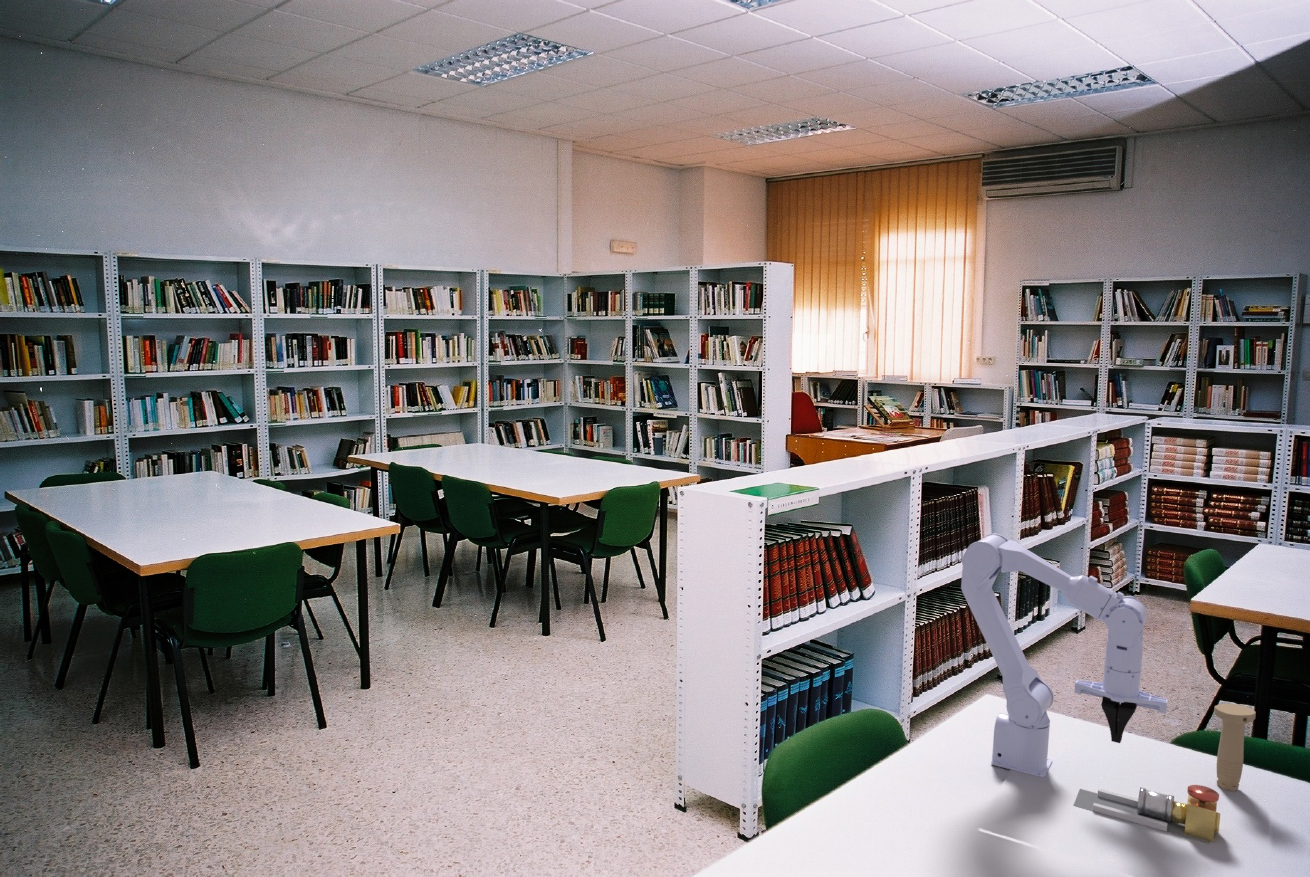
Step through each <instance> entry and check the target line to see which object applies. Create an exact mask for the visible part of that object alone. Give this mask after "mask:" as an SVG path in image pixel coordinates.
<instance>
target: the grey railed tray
mask: <svg viewBox="0 0 1310 877" xmlns="http://www.w3.org/2000/svg"><path fill="white" fill-rule="evenodd" d="M1073 806H1074V807H1077V808H1081V809H1083V810H1087V811H1091V812H1095V813H1097V814H1101V815H1105V816H1109V817H1111V818H1116V819H1119V820H1123V821H1127V822H1131V823H1134V824H1137V825H1141V826H1144V827H1148V828H1151V829H1155V830H1157V831H1162V832H1165V833H1170V834H1173V835H1177V836H1180V837H1183V838H1187V839H1191V840H1194V841H1198V842H1202V843H1205V844H1209V845H1210V842H1211V841H1208V840H1204V839H1200V838H1197V837H1193V836H1190V835H1186V834H1184V833H1185V824H1181V823H1177V822H1174V821H1172V823H1171V822H1167V821H1166V820H1163V819H1160V818H1156V817H1153V816H1149V815H1145V814H1143V815H1142V814H1138V813H1137V809H1138V798H1135V797H1132V796H1128V795H1124V794H1121V793H1118V792H1114V791H1109V790H1107V789H1102V788H1098V790H1097V792H1095V791H1091V790H1087V789H1082V788H1079V790H1078V793H1077V795H1076V798H1075V801H1074V803H1073Z"/></svg>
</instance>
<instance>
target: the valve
mask: <svg viewBox="0 0 1310 877" xmlns="http://www.w3.org/2000/svg"><path fill="white" fill-rule="evenodd" d="M1186 789H1187V794H1188V796H1187V803H1182V802H1179V801H1175V800H1174V802H1173V809H1172V821H1174V822H1177V823H1181V824H1185V833H1184V834H1186V835H1190V836H1193V837H1197V838H1200V839H1204V840H1208V841H1210V842H1212V843H1214V836H1215V834H1219V832H1220V824H1221V823H1220V822H1221V812H1217V804H1218V802H1219V799H1220V794H1219V793H1218V791H1216V790H1215V789H1213V788H1210V787H1208V786H1206V785H1200V784H1191V785H1188V786H1187V788H1186Z"/></svg>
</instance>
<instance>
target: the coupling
mask: <svg viewBox="0 0 1310 877" xmlns="http://www.w3.org/2000/svg"><path fill="white" fill-rule="evenodd" d="M1137 799H1138V809H1137V813H1138V814H1142V815H1143V814H1145V815H1149V816H1153V817H1156V818H1160V819H1163V820H1166V821H1167V822H1171V823H1172V809H1173V802H1174V801H1175V795H1173V794H1165V793H1160V792H1157V791H1152V790H1149V789H1147V788H1145V787H1139V793H1138V798H1137Z"/></svg>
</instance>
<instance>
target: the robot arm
mask: <svg viewBox="0 0 1310 877" xmlns="http://www.w3.org/2000/svg"><path fill="white" fill-rule="evenodd" d="M960 562H961V564H962V571H961V582H960V583H961V585H960V589H961V592H962V594H963V596H964V598H965V600H966V602H967V604H968V607H969V608H970V611H971V613H972V616H973V617H974V620H975V621H976V623H977V626H978V628H979V629H980V632H981V634H982V637H983V638H984V640H985V643H986V645H987V647H988V650H990V653H991V654H992V658H993V659H994V661H995V664H996V666H997V667H998V669H999V671H1000V673H1001V676H1002V691H1003V695H1004V696H1005V700H1006V706H1005V707H1006V712H1007V713H1002V712H999V713H998V714H997V716H996V719H995V723H994V729H993V739H992V740H993V741H992V742H993V743H992V756H991V757H992V758H991V763H990V764H991V765H992V766H996V767H999V768H1004V769H1007V770H1013V771H1017V772H1021V773H1025V774H1028V775H1032V776H1035V777H1039V778H1043V779H1044V778H1045V777H1046V776H1047V774H1048V772H1049V769H1050V767H1051V765H1052V763H1053V760H1052V759H1050V758H1048V752H1049V739H1050V726H1051V720H1050V718H1049V716H1048V712H1047V710H1048V709H1050V708H1051V707H1052V705H1053V703H1054V698H1055V697H1054V693H1053V690H1052V689H1051V687H1050V686H1049V684H1047V683H1046V682H1045V681H1044V680H1043V679H1042V678H1041V677H1040V675H1039V673H1038V671H1037V670H1036V669H1035V668H1034V667H1032V666H1031V665H1030V664H1029V662H1028V660H1027V659H1026V656H1025V654H1024V652H1023V650H1022V647H1021V646H1020V644H1019V642H1018V639H1017V637H1016V635H1015V633H1014V631H1013V629H1012V627H1011V625H1010V623H1009V621H1008V619H1007V617H1006V614H1005V612H1004V610H1003V609H1002V607H1001V604H1000V602H999V600H998V597H997V596H996V594H995V592H994V590H993V585H994V583H995V581H996V579H997V577H998V574H999V573H1003V574H1004V573H1016V572H1022V573H1023V574H1026V575H1027V576H1030V577H1032V578H1033V579H1035V580H1038V581H1040V582H1041V583H1043V584H1045V585H1048V586H1050V587H1051V588H1054V589H1056V590H1058V591H1060V592H1062V593H1063V595H1064V597H1065V600H1066V603H1067V604H1069V605H1071V606H1073V607H1075V608H1077V609H1078V610H1080V611H1082V612H1083V613H1086V614H1088V615H1089V616H1091V617H1092V618H1094V619H1096V620H1098V621H1100V622H1104V623H1105V624H1104V625H1106V628H1107V630H1108V631H1107V632H1108V633H1107V639H1106V641H1105V643H1106V644H1105V656H1104V668H1103V678H1102V680H1103V681H1102V682H1095V681H1088V680H1082V679H1076V681H1075V682H1074V692H1073V693H1075V694H1077V695H1081V694H1084V695H1088V696H1093V697H1097V698H1102V700H1101V704H1100V705H1101V708H1102V711H1103V713H1104V715H1105V719H1106V721H1107V723H1108V727H1109V730H1110V738H1111V742H1114V743H1117V744H1121V742H1122V740H1123V734H1124V730H1125V729H1126V726H1127V725H1128V723H1129V721H1130V720H1131V718H1132V717H1133V715H1134V714H1135V713H1136V711H1137V707H1142V708H1147V709H1150V710H1156V711H1158V712H1159V713H1163V714H1167V710H1168V706H1169V705H1168V704H1169V698H1168V699H1167V698H1164V697H1162V696H1161V697H1159V696H1156V695H1154V694H1151V693H1147V692H1144V691H1141V690H1140V687H1141V686H1140V685H1141V675H1142V674H1141V673H1142V664H1143V650H1144V643H1143V640H1144V626H1145V624H1146V623H1147V620H1148V610H1147V608H1146V606H1145V604H1143V602H1141V601H1140V600H1138V599H1137V598H1136V597H1135V596H1131V595H1129V596H1128V595H1125V594H1124V593H1123V592H1121V591H1118V592H1115V591H1113V590H1112V589H1110V588H1108V587H1106V586H1105V585H1103V584H1101V583H1099V582H1098V580H1099V579H1098V578H1096V577H1095V576H1093V575H1090V576H1089V577H1088V576H1085V575H1084V574H1083V575H1078V576H1077V575H1076V576H1072V575H1070V574H1069V573H1067V572H1065V571H1064V570H1062V569H1061V568H1059V567H1057V566H1056V565H1054V564H1052V563H1050V562H1048V561H1047V560H1045V559H1044V558H1042V557H1041V556H1038V555H1037V554H1036V553H1034V552H1032V551H1031V550H1029V549H1028V548H1026V547H1024V546H1023V545H1021V544H1020V543H1018V542H1017V541H1015V540H1013V539H1008V538H1007V537H1006V536H1004V535H1002V534H1000V533H988V534H986V535H985V536H983V537H982V538H981V539H979V540H978V541H975V542H972V543H971V544H970V545H968V547H967V548H966V550H965V552H964V553H963V556H962V557H961V559H960Z"/></svg>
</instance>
